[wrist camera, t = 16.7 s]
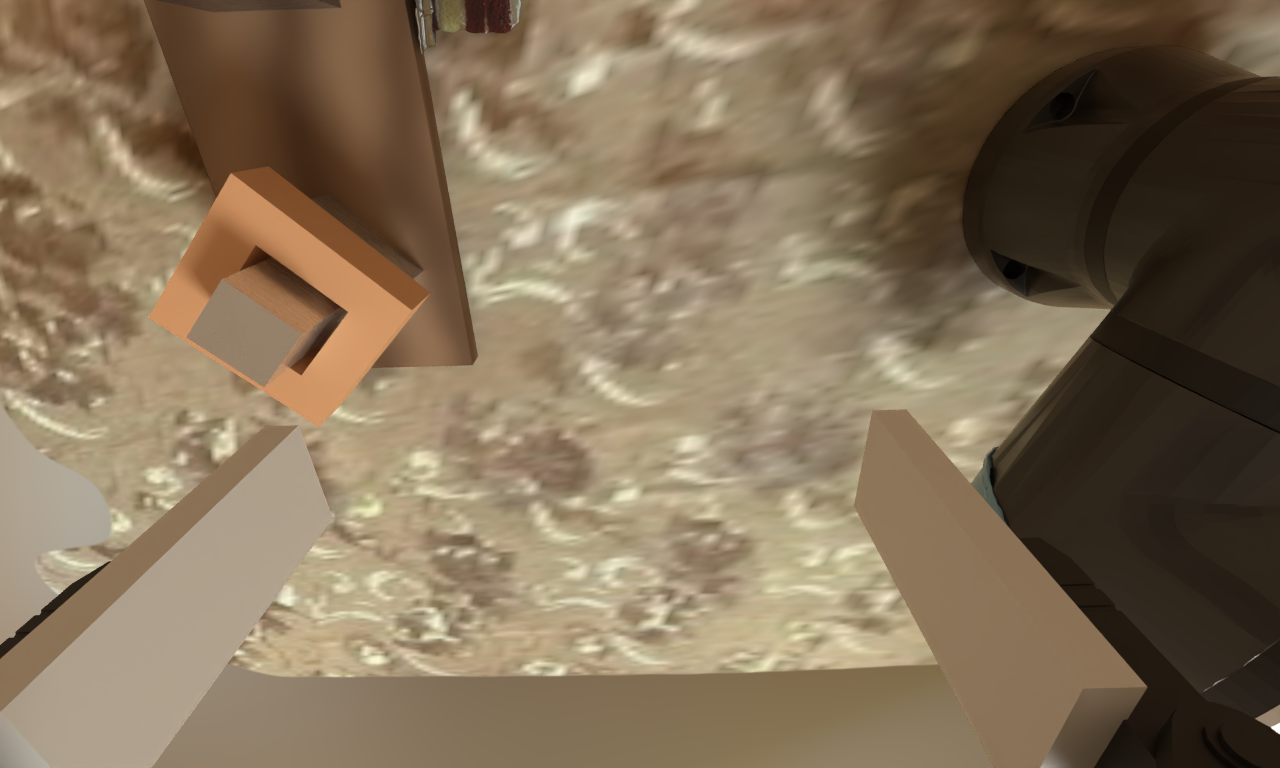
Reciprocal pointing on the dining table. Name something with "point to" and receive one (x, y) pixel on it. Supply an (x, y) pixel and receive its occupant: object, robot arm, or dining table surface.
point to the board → (332, 133)
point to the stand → (255, 4)
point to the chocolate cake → (464, 17)
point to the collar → (318, 253)
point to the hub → (278, 309)
